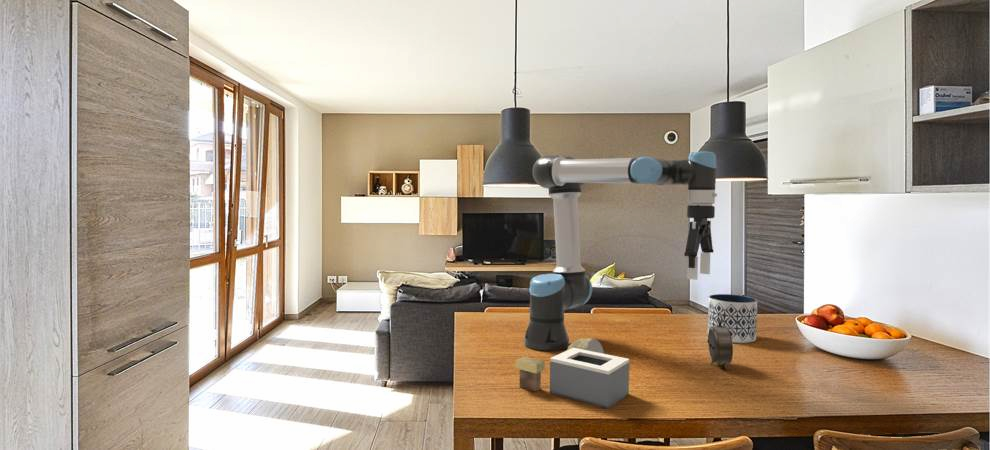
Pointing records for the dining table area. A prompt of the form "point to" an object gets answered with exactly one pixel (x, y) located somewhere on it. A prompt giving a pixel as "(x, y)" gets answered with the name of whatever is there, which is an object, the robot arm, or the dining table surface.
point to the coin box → (589, 377)
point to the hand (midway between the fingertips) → (698, 276)
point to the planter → (734, 315)
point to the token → (530, 364)
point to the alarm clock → (720, 344)
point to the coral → (587, 345)
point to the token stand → (530, 380)
